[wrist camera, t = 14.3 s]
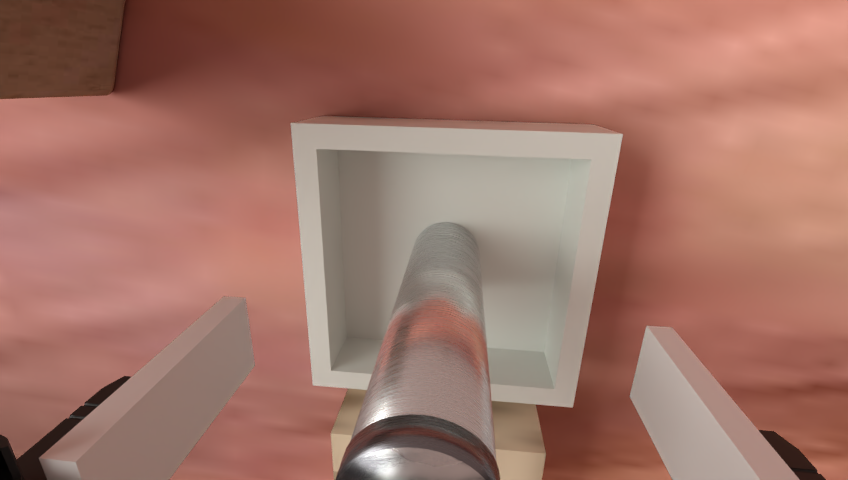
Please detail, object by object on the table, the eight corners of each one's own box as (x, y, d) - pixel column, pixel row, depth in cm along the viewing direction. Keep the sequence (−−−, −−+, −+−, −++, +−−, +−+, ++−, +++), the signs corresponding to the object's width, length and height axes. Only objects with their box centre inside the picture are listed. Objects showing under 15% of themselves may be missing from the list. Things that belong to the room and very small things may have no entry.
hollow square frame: (365, 478, 29) (340, 573, 24) (360, 356, 26) (330, 433, 20) (512, 493, 28) (522, 595, 23) (528, 370, 25) (546, 453, 19)
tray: (335, 340, 25) (312, 385, 22) (322, 115, 21) (290, 123, 17) (556, 357, 24) (572, 407, 21) (593, 124, 20) (623, 133, 16)
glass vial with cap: (411, 282, 22) (334, 560, 9) (412, 219, 21) (326, 437, 8) (477, 286, 22) (495, 579, 9) (482, 223, 21) (511, 454, 8)
